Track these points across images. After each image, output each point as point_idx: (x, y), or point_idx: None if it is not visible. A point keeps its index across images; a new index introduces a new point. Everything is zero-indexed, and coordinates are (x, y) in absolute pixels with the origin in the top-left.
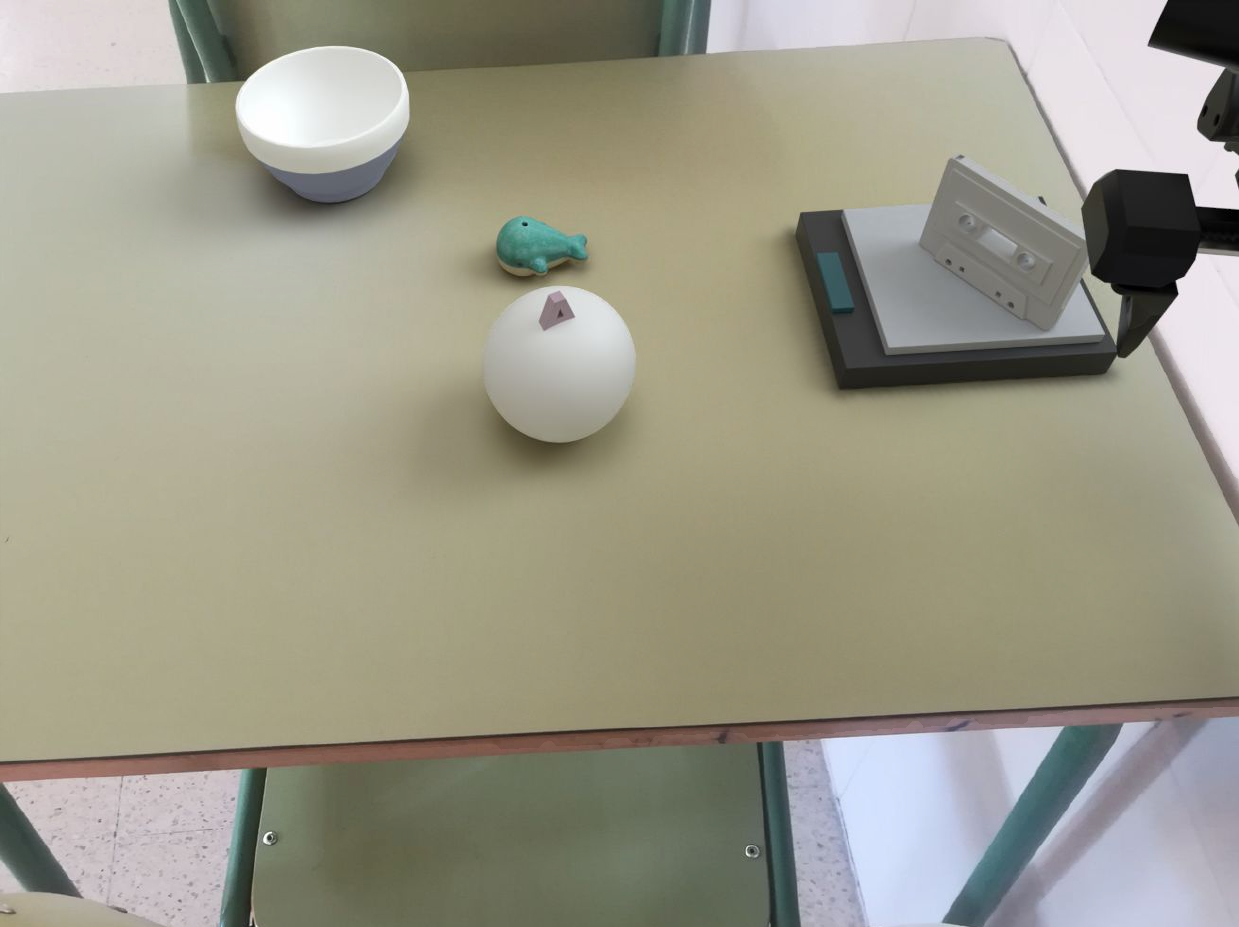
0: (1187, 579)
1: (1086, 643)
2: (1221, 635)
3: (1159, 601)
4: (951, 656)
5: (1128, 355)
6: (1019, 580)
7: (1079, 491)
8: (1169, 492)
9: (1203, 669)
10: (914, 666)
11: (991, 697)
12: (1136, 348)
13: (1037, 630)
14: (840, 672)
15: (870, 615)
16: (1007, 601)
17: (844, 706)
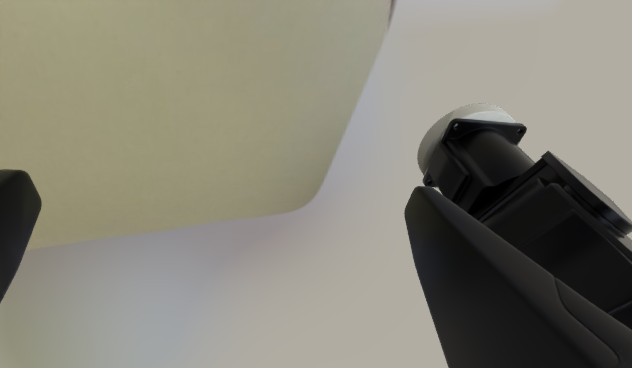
0: (313, 126)
1: (215, 187)
2: (323, 172)
3: (282, 149)
4: (104, 206)
5: (34, 222)
6: (155, 138)
7: (221, 17)
8: (330, 15)
9: (300, 197)
10: (75, 216)
11: (142, 229)
12: (19, 263)
13: (174, 181)
14: None
15: None
16: (145, 159)
17: (30, 245)
